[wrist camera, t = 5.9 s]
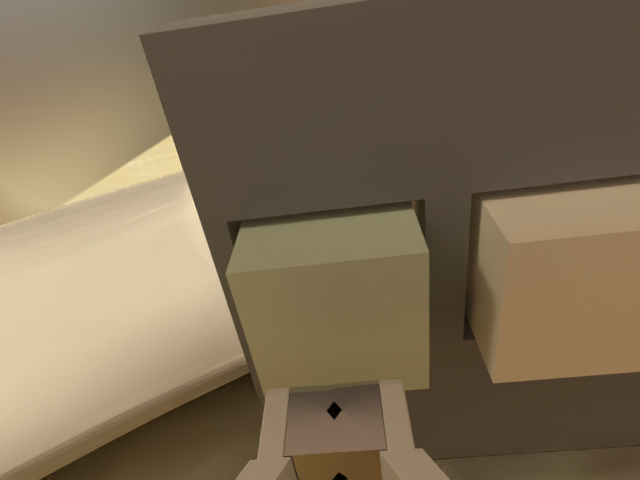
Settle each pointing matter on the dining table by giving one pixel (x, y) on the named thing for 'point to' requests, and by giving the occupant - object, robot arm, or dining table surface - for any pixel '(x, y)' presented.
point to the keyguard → (415, 160)
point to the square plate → (106, 323)
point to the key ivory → (556, 279)
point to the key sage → (334, 296)
